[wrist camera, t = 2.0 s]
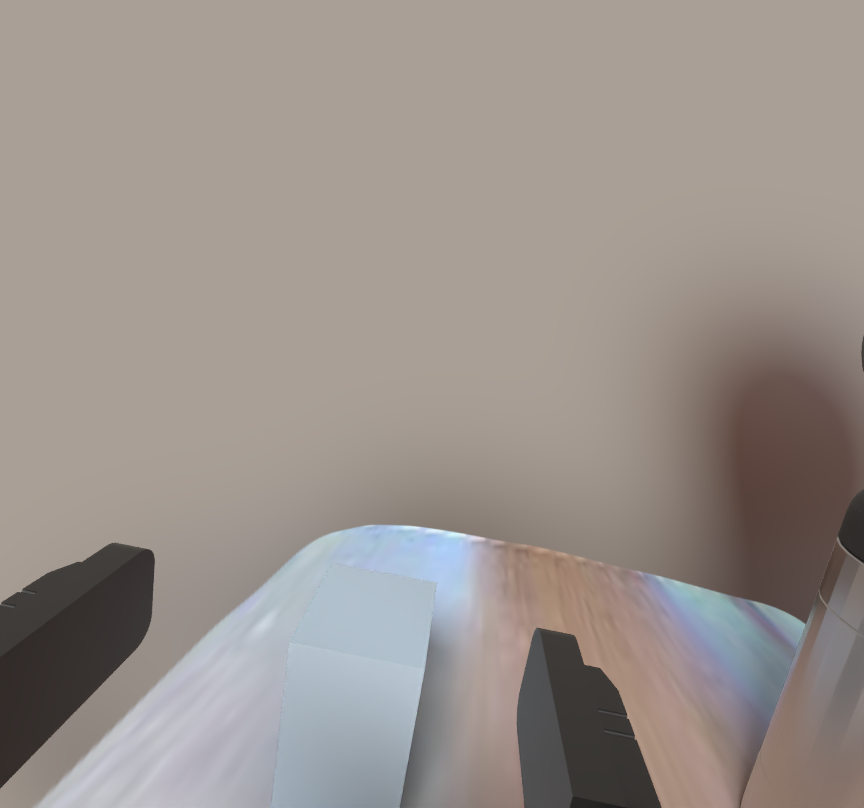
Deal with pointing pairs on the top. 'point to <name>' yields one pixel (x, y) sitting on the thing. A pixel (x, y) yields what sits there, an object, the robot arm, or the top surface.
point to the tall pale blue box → (353, 691)
